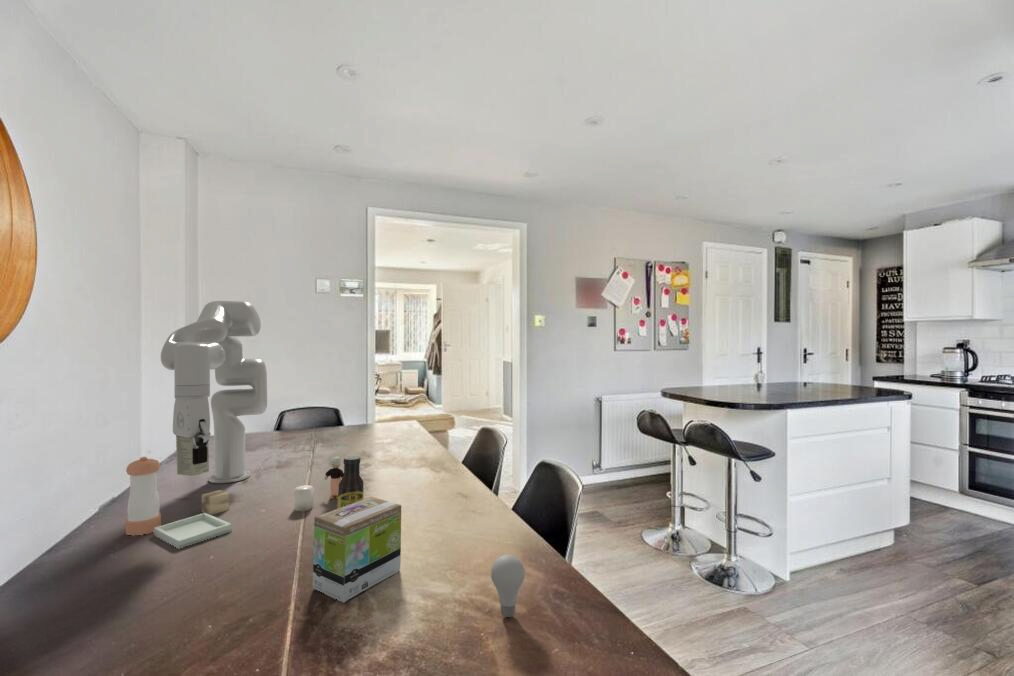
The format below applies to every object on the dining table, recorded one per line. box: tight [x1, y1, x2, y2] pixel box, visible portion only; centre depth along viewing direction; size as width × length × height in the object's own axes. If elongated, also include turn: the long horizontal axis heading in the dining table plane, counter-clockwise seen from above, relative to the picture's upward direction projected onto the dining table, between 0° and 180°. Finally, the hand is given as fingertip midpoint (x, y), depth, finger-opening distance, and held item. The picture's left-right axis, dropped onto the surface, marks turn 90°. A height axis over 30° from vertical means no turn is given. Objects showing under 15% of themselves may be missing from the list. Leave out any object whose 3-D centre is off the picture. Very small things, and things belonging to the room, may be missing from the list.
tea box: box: [312, 496, 402, 604], centre depth 97 cm, size 15×10×15 cm, turn 148°
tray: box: [153, 512, 232, 550], centre depth 119 cm, size 14×12×2 cm
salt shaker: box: [125, 456, 162, 536], centre depth 121 cm, size 7×7×19 cm
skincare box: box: [175, 433, 210, 477], centre depth 119 cm, size 6×4×12 cm
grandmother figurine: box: [323, 456, 344, 500], centre depth 146 cm, size 8×4×13 cm, turn 84°
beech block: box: [201, 489, 230, 516], centre depth 135 cm, size 5×5×5 cm
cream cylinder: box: [294, 484, 314, 512], centre depth 137 cm, size 5×5×6 cm
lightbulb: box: [490, 554, 526, 618], centre depth 84 cm, size 6×6×11 cm
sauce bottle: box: [336, 455, 365, 509], centre depth 118 cm, size 7×6×20 cm
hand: (192, 460), depth 119 cm, fingers closed on skincare box, 6 cm apart
